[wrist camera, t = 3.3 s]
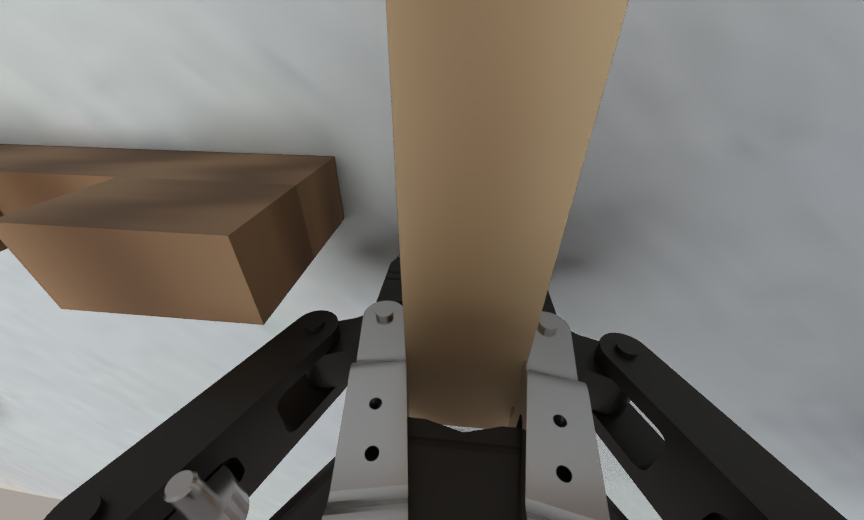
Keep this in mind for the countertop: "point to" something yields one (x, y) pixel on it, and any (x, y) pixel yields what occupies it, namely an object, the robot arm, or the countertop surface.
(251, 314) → the brown notched wooden block
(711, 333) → the countertop surface
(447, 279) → the tan wooden bar
